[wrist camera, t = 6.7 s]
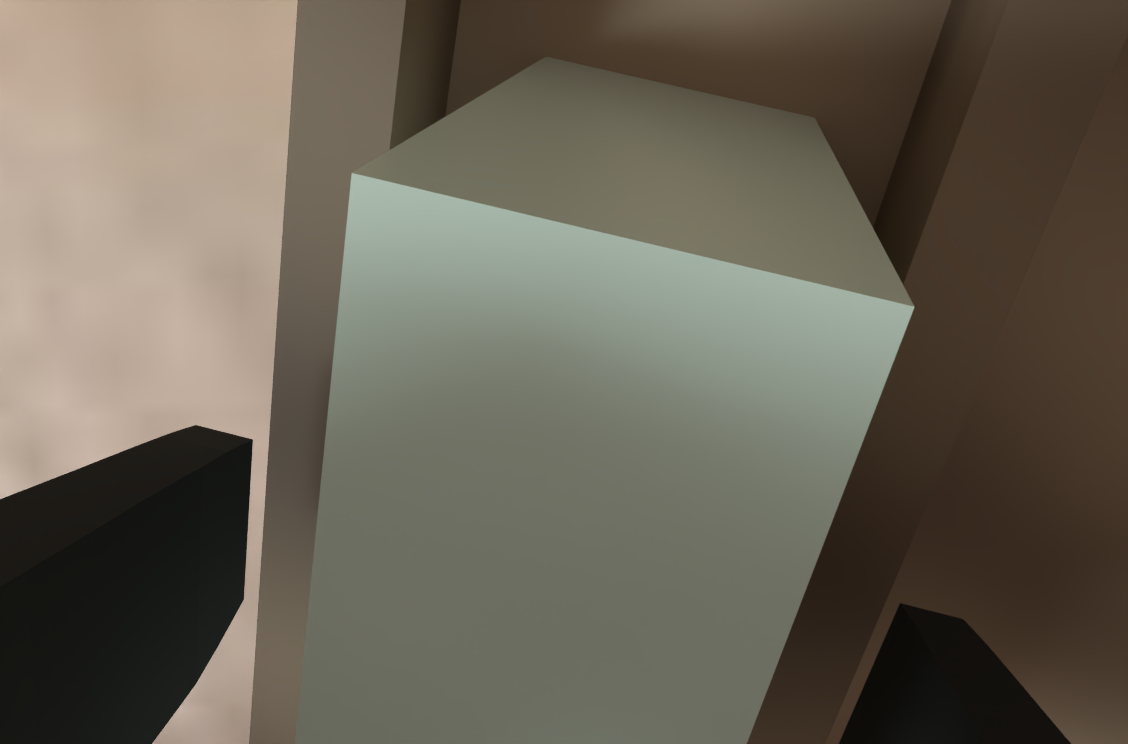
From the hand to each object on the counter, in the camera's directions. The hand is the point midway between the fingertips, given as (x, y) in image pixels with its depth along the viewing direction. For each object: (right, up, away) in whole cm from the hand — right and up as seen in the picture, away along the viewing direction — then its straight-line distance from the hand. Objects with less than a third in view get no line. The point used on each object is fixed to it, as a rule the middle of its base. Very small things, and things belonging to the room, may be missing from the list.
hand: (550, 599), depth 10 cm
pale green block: (+1, +1, +3) cm, 3 cm away
